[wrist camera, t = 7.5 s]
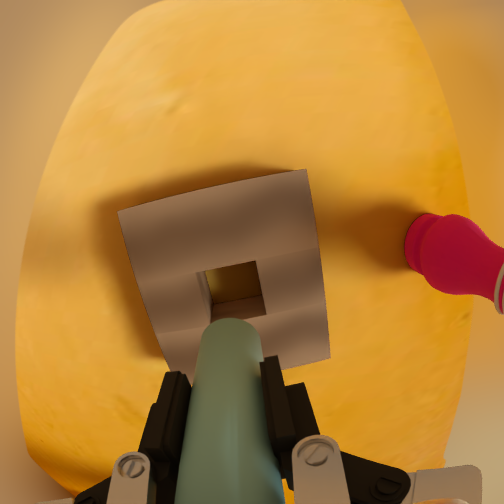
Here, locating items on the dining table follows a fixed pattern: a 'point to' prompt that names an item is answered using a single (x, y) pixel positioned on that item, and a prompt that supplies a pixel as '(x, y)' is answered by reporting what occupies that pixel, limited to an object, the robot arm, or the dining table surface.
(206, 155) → the dining table surface
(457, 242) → the pepper mill
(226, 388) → the teal peg
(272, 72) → the dining table surface
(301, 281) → the walnut hole block
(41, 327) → the dining table surface
